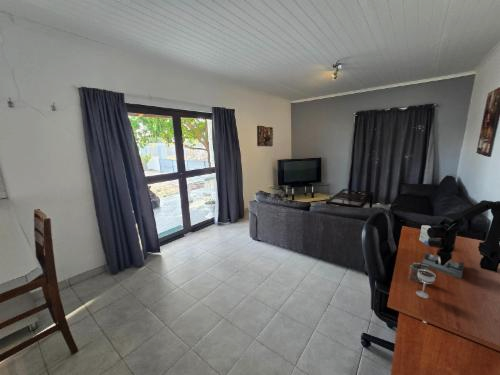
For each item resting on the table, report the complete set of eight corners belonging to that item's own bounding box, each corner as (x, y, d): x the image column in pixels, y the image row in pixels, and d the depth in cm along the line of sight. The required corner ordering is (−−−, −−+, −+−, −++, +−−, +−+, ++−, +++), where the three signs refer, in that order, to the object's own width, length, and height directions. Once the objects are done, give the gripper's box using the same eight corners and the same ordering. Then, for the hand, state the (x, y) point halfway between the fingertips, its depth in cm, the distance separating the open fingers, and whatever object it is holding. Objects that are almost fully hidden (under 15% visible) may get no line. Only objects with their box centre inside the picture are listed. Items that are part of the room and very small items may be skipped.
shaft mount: (463, 267, 124) (465, 259, 123) (461, 278, 115) (463, 269, 113) (426, 256, 136) (427, 248, 135) (421, 265, 127) (423, 257, 126)
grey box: (408, 279, 115) (411, 263, 112) (407, 276, 118) (410, 260, 115) (427, 284, 111) (430, 267, 109) (425, 280, 114) (429, 264, 112)
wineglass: (414, 287, 109) (418, 266, 106) (431, 293, 105) (435, 272, 102) (413, 295, 104) (417, 273, 101) (431, 301, 100) (436, 279, 97)
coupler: (447, 266, 125) (450, 256, 124) (446, 270, 122) (449, 259, 121) (437, 263, 129) (439, 252, 127) (436, 266, 126) (438, 255, 124)
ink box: (435, 245, 148) (438, 230, 146) (427, 245, 148) (431, 230, 146) (425, 239, 157) (428, 224, 154) (418, 239, 157) (421, 225, 154)
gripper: (433, 228, 133) (428, 250, 137) (427, 238, 120) (422, 262, 124) (457, 234, 125) (452, 257, 129) (454, 245, 113) (448, 271, 116)
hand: (443, 262), depth 125 cm, fingers open, 8 cm apart
